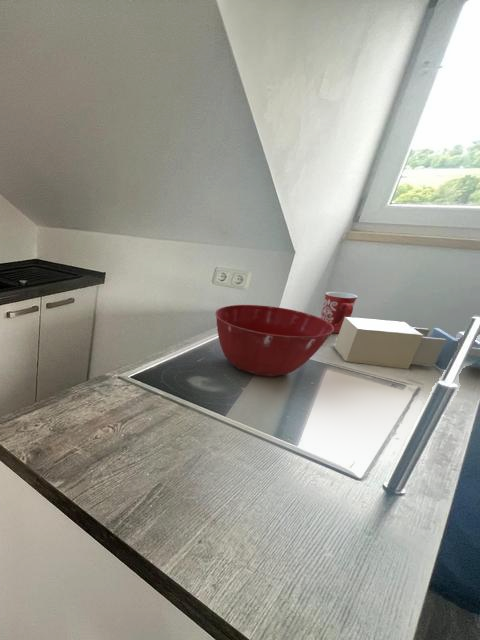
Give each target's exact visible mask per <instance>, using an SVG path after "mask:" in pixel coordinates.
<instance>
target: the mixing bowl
mask: <svg viewBox="0 0 480 640" xmlns="http://www.w3.org/2000/svg"><path fill="white" fill-rule="evenodd" d="M214 314H215V315H214V316H215V320H216V327H217V329H216V330H217V335H218V341H219V344H220V347H221V350H222V353H223V355H224V357H225V358H226V359H227V361H228V362H229V363H230V364H231V365H233V366H234V367H235V368H237V370H240V371H242V372H245V373H248V374H251V375H255V376H261V377H279V376H283V375H287V374H289V373H292V372H296V370H298V369H299V368H301V367H302V366H303V365H304V364H306V363H307V362H308V361H309V360H310V359H311V358H312V357H313V356H314V355H315V354H316V353H317V352H318V351H319V350H320V348H321V347H322V346H323V344H324V343H325V342H326V341H327V339H328V338H329V336H330V335H331V334H333V333H332V332H333V331H334V327H333V326H332V325H331V324H330V323H329V322H327V321H325V320H323V319H321V318H320V317H319V316H316V315H313V314H311V313H310V314H309V313H306V312H303V311H298V310H296V309H295V310H294V309H289V308H283V307H277V306H269V305H258V304H234V305H233V304H232V305H227V306H223V307H220V308H218V309H216V311H215V313H214Z"/></svg>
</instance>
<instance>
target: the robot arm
mask: <svg viewBox="0 0 480 640" xmlns="http://www.w3.org/2000/svg"><path fill="white" fill-rule="evenodd" d="M465 331H466V330H465ZM465 331H459V332H457V334H456V335H455V337H454V338H456V339H457V340H459V339H460V338H461V337H462V336H463V335H464V333H465ZM456 350H457V349H456ZM467 355H468V356H469V355H470V356H473V357H476V358H477V357H478V358H479V359H480V334H479V335H478V336H477V338H476V340H475V342H474V344H473V347H472V348H471V350H470V351H469V353H468V354H467Z"/></svg>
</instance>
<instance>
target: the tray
mask: <svg viewBox="0 0 480 640" xmlns="http://www.w3.org/2000/svg"><path fill="white" fill-rule="evenodd" d="M411 327H412V326H411ZM412 328H414V329H415V330H417V331H418V332H420V333H421V334H423V337H422V340H421V342H420V344H419V346H418V349H417V351H416V353H415V355H414V358H413V360H412V362H411V364H410V365H417V366H425V367H435V366H436V367H437V368H438V369H440V370H445V371H446V370H447V369H448V367H449V365H450V364H451V361H452V359H453V358H454V357H453V356H454V355H455V353H457V352H456V349H457V347H458V340H457V339H456V338H455V337H454V336H452V335H451V334H449V333H447V332H446V331H444V330H443V329H441V328H439V327H433V329H432V331H431V329H430V328H423V327H412ZM430 331H431V334H430V336H429V337H428V335H429V333H430Z"/></svg>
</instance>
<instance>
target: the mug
mask: <svg viewBox="0 0 480 640" xmlns="http://www.w3.org/2000/svg"><path fill="white" fill-rule="evenodd" d="M324 296H325V297H324V300H323V304H322V309H321V313H320V317H319V318H321V319H323V320H325V321H327V322H329V323H330V324H331V325H332V326H333V327H334V331H333V332H332V333H331V334H339V332H340V329H341V326H342V324H343V321H344V318H345V317H352V314H353V311H354V305H355V303H356V301H357V299H358V297H359V296H358V295H357V294H353V293H348V292H343V291H342V292H340V291H328V292H325V294H324Z"/></svg>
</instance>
